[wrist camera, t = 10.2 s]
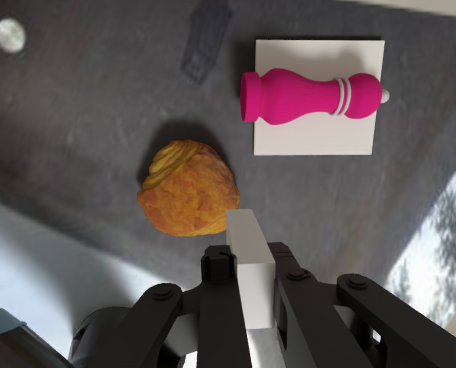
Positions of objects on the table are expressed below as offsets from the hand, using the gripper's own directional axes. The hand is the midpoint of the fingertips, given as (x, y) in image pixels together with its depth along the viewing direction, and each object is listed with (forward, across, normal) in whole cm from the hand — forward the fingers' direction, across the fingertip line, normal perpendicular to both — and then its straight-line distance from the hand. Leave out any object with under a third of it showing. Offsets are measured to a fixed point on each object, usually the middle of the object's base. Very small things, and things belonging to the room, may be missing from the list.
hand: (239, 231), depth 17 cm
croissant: (+29, -5, -4) cm, 29 cm away
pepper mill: (+23, +2, +9) cm, 25 cm away
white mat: (+27, +14, +9) cm, 32 cm away
